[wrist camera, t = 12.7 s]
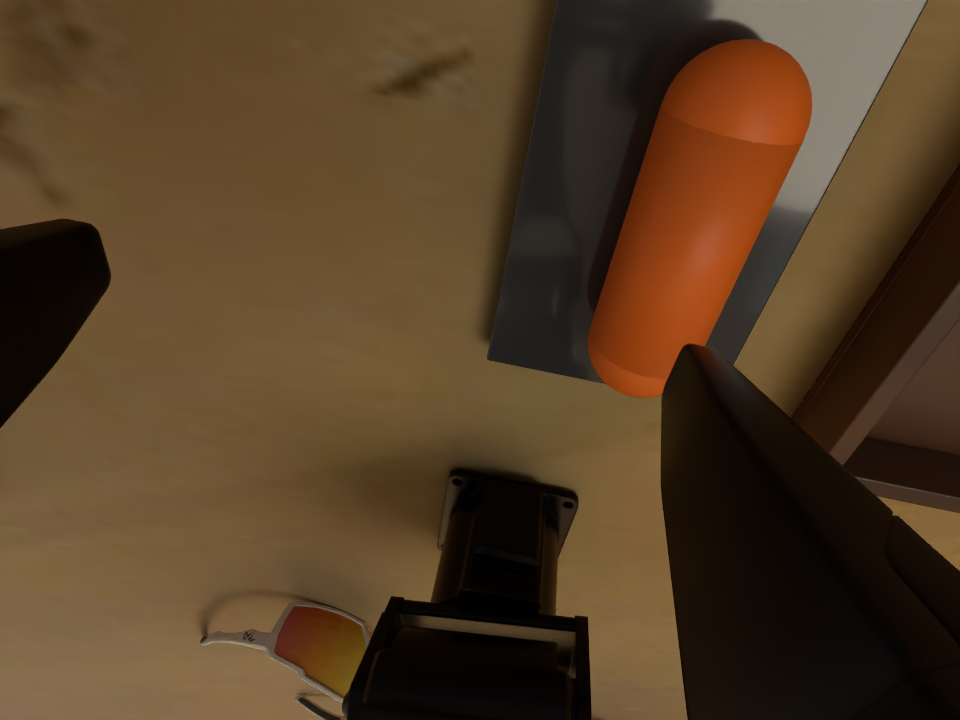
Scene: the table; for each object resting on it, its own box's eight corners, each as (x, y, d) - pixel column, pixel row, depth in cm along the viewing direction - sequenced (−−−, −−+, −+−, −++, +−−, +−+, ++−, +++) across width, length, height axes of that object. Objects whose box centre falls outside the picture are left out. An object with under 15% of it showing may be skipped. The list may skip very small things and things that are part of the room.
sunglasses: (452, 680, 42) (431, 758, 39) (326, 681, 51) (298, 746, 47) (315, 577, 36) (275, 658, 33) (197, 598, 45) (155, 664, 41)
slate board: (706, 386, 24) (711, 406, 23) (490, 342, 24) (486, 360, 23) (914, -18, 15) (937, -15, 14) (572, -81, 15) (571, -81, 14)
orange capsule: (654, 353, 22) (694, 420, 19) (564, 351, 21) (593, 420, 19) (786, 35, 15) (877, 69, 13) (663, 16, 15) (730, 47, 12)
